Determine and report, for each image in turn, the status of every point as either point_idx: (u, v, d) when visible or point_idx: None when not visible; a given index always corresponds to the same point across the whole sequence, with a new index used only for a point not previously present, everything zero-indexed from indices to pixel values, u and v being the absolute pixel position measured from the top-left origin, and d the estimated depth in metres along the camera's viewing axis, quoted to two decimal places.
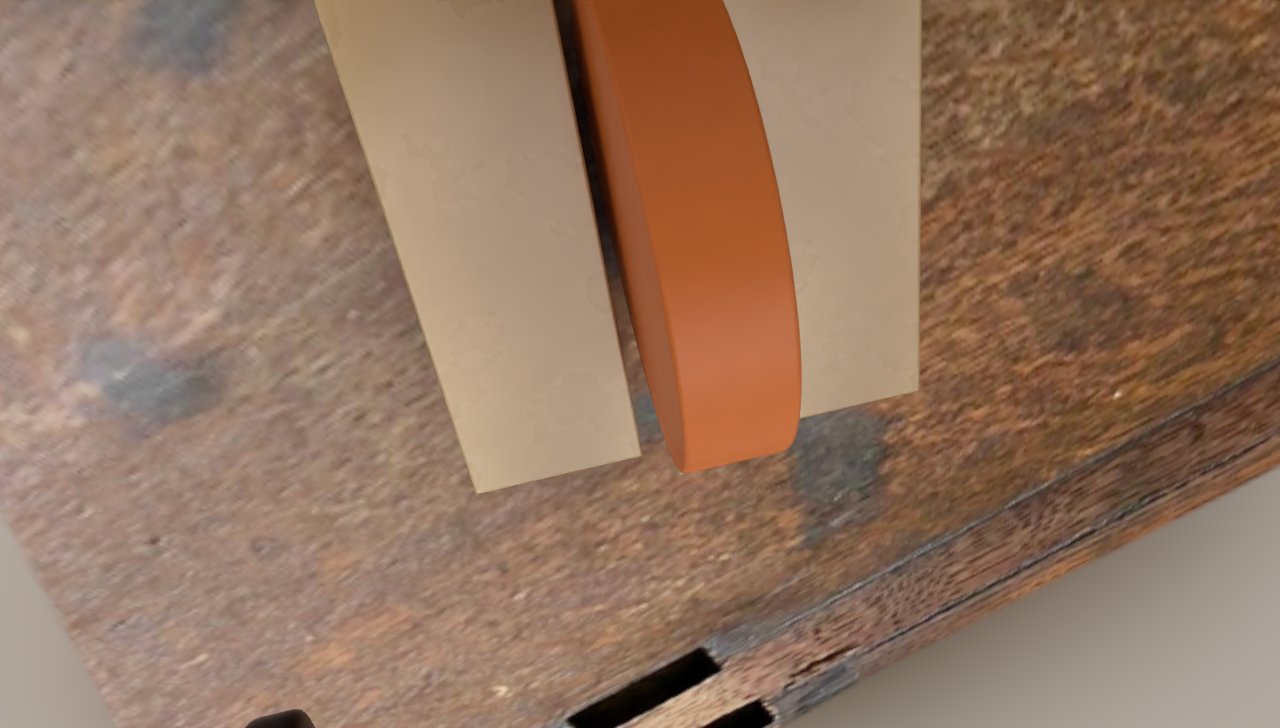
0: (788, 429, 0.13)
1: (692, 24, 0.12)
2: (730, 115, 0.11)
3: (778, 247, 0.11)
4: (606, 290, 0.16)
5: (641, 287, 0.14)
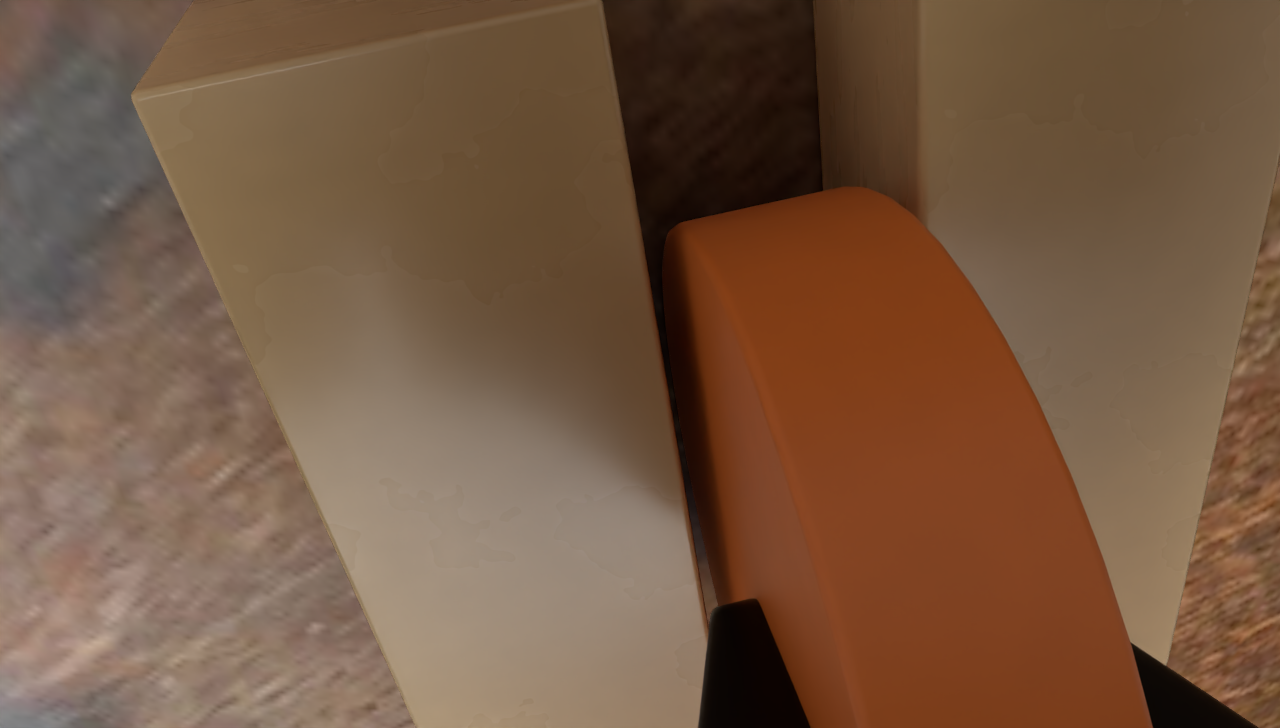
0: None
1: (974, 437, 0.06)
2: (1075, 665, 0.05)
3: None
4: None
5: None
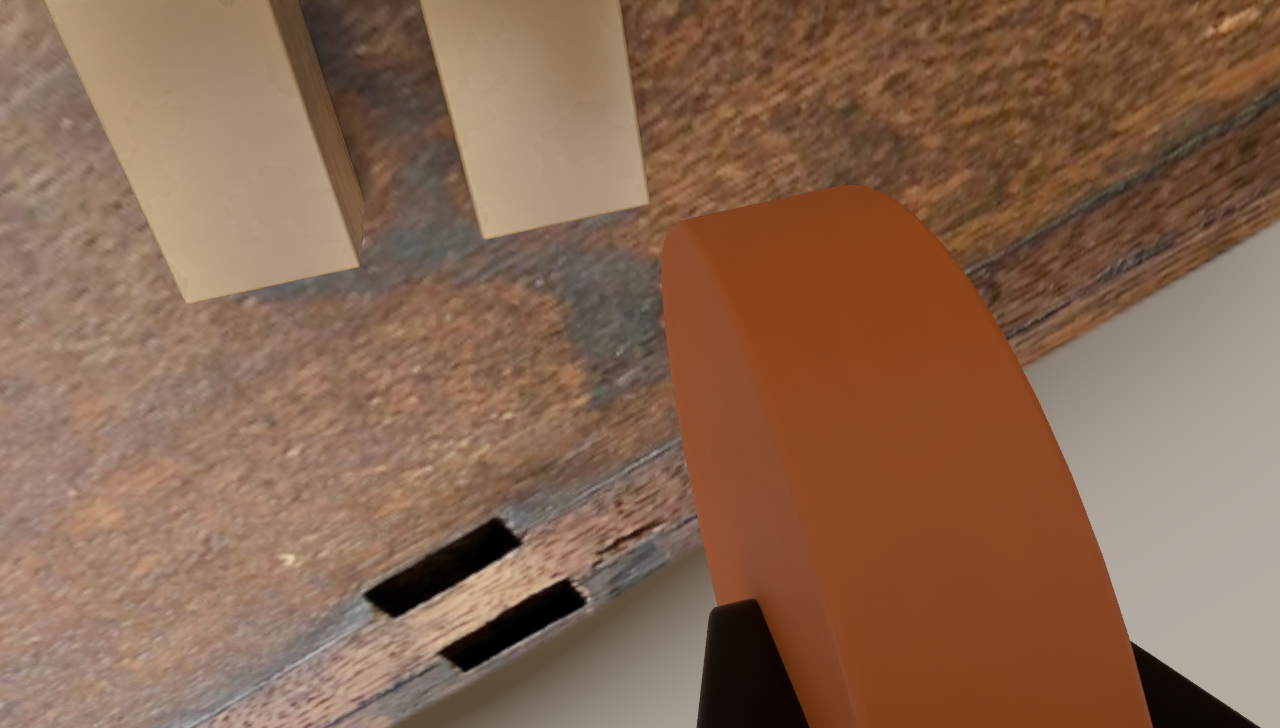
0: None
1: (973, 435, 0.06)
2: (1074, 664, 0.05)
3: None
4: (288, 70, 0.16)
5: None
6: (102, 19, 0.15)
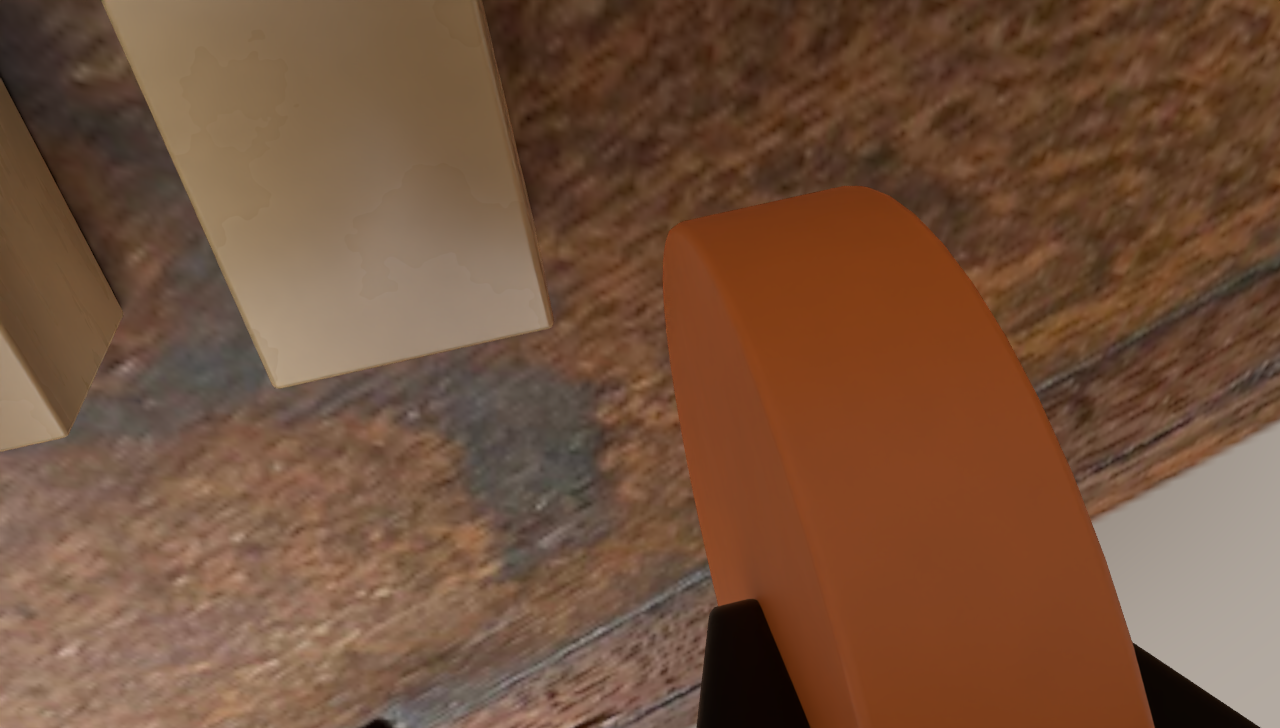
0: None
1: (975, 437, 0.06)
2: (1076, 666, 0.05)
3: None
4: None
5: None
6: None
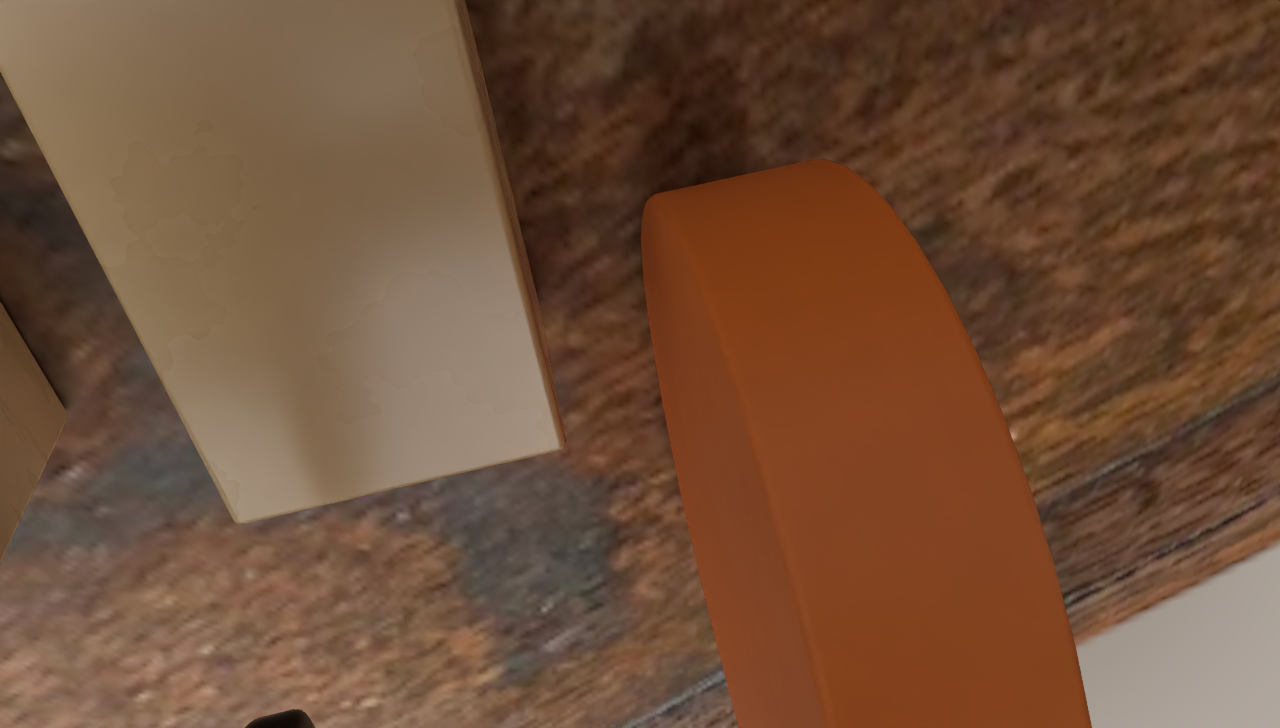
0: None
1: (916, 380, 0.06)
2: (1003, 585, 0.06)
3: None
4: None
5: (768, 714, 0.08)
6: None
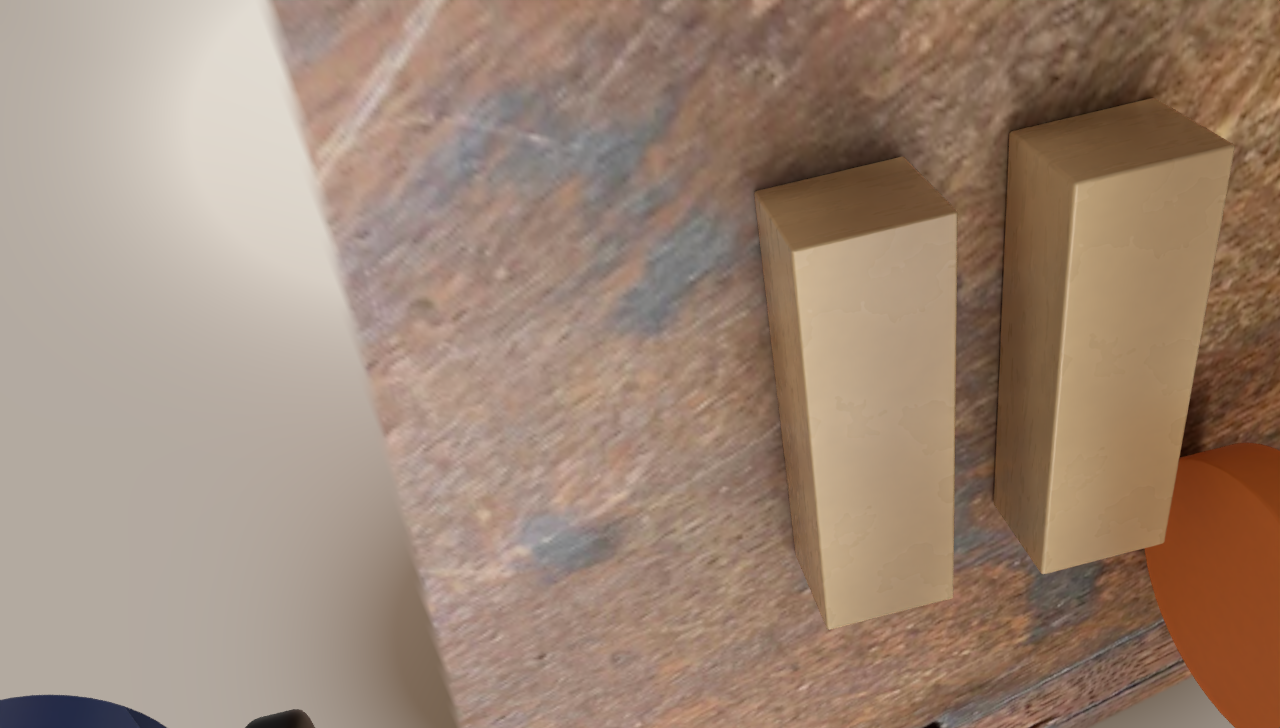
0: None
1: None
2: None
3: None
4: (953, 488, 0.22)
5: (1258, 653, 0.23)
6: (845, 470, 0.21)
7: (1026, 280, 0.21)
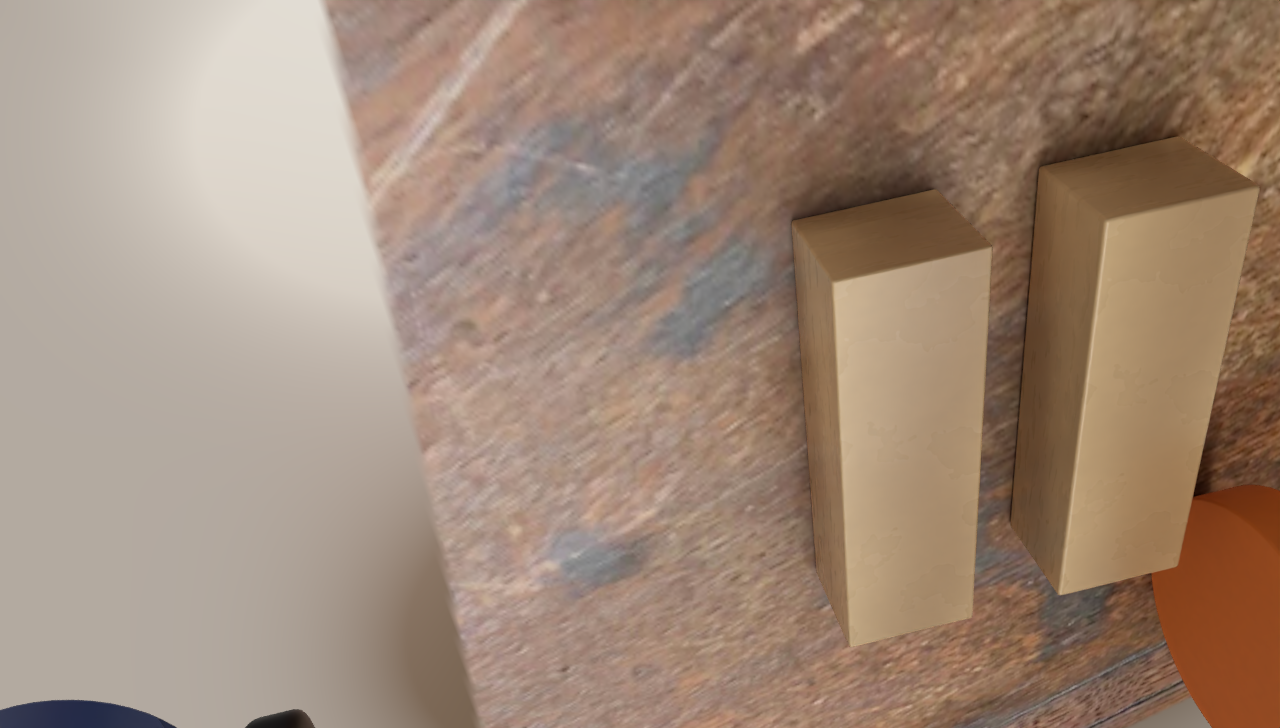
0: None
1: None
2: None
3: None
4: (976, 511, 0.22)
5: (1261, 690, 0.24)
6: (873, 493, 0.21)
7: (1051, 310, 0.21)
